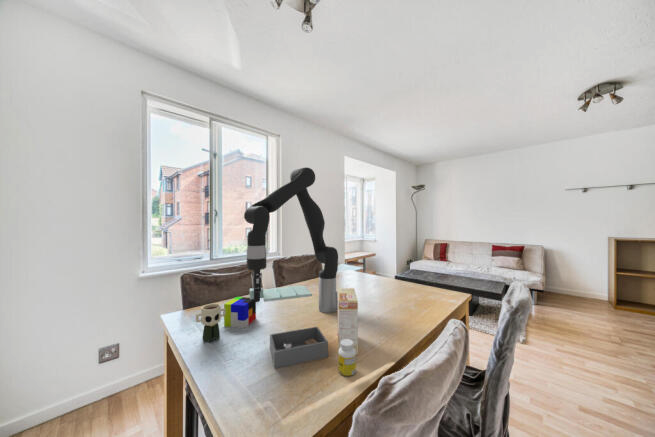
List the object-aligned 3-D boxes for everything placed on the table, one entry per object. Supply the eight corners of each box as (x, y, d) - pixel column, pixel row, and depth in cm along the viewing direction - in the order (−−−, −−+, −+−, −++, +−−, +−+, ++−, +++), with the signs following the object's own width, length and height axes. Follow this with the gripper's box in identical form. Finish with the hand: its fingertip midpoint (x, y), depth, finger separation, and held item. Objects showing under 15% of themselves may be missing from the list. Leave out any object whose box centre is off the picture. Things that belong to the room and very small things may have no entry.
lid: (304, 287, 106) (304, 280, 106) (312, 296, 94) (312, 288, 94) (249, 293, 98) (249, 285, 98) (250, 303, 86) (250, 294, 86)
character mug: (197, 347, 88) (197, 312, 88) (194, 339, 93) (194, 306, 93) (227, 338, 94) (227, 306, 94) (223, 331, 100) (223, 301, 100)
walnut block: (312, 348, 86) (312, 338, 86) (318, 352, 83) (317, 342, 83) (304, 351, 84) (304, 341, 84) (309, 355, 81) (309, 345, 81)
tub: (317, 342, 91) (317, 326, 91) (327, 359, 80) (327, 341, 80) (269, 351, 85) (269, 334, 85) (274, 371, 74) (274, 352, 74)
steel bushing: (290, 349, 85) (290, 341, 85) (292, 353, 82) (292, 345, 82) (282, 351, 84) (282, 342, 84) (283, 355, 81) (283, 347, 81)
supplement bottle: (337, 368, 75) (337, 338, 75) (354, 367, 76) (354, 337, 76) (339, 380, 70) (339, 347, 70) (357, 379, 70) (357, 346, 70)
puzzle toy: (244, 328, 103) (244, 305, 103) (224, 326, 105) (224, 304, 105) (255, 318, 113) (255, 298, 113) (237, 317, 115) (237, 296, 115)
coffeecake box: (337, 335, 97) (337, 287, 97) (354, 335, 97) (354, 288, 97) (337, 356, 82) (337, 300, 82) (358, 356, 82) (358, 300, 82)
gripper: (268, 258, 88) (268, 305, 88) (264, 253, 101) (264, 293, 101) (247, 260, 85) (246, 307, 85) (246, 254, 98) (246, 295, 98)
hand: (256, 299), depth 93 cm, fingers closed on lid, 3 cm apart
